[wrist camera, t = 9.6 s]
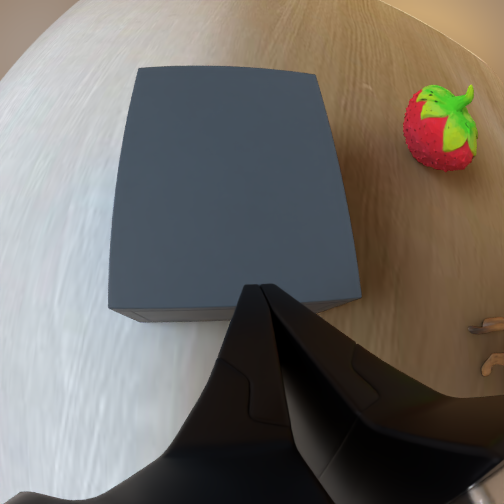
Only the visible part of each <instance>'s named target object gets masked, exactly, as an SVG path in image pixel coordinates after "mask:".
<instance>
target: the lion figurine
mask: <svg viewBox="0 0 504 504" xmlns="http://www.w3.org/2000/svg"><path fill="white" fill-rule="evenodd" d="M468 330H469V331H470V332H471V333H473V334H481V333H486V332H487V333H488V332H491V331H501V330H504V318H502V317H495V318H487V319H485V320H484V322H483V327H476V326H469V328H468ZM495 364H500V365H504V352H503V353H493V354H492V355H491V356H490V357H489V358H488V360H487V361H486V362H485V363H484V364H483V366H482V375H483V376H488V375H489V374H490V373H491V371H492V366H493V365H495Z"/></svg>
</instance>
